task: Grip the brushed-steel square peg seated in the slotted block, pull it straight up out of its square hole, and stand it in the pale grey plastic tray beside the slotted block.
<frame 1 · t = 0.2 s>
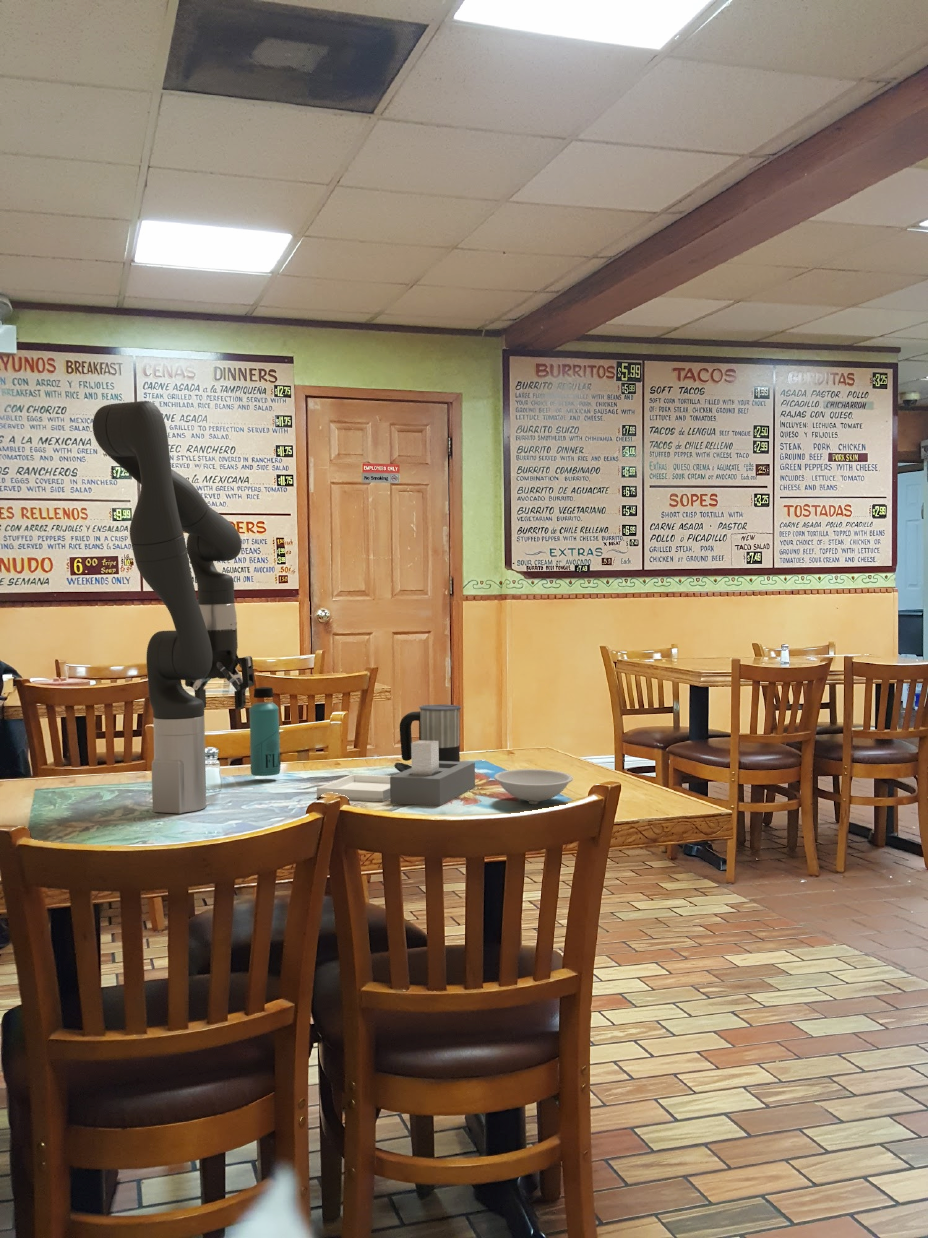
hand: (220, 708, 212), 17 cm above the table, tool pointing down, fingers open, 8 cm apart
milk frother: (428, 777, 232), on the table
beverage bottle: (265, 781, 229), on the table
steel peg: (425, 799, 206), resting in slotted block
dish: (533, 804, 200), on the table
slotted block: (434, 794, 210), on the table
tray: (367, 792, 214), on the table
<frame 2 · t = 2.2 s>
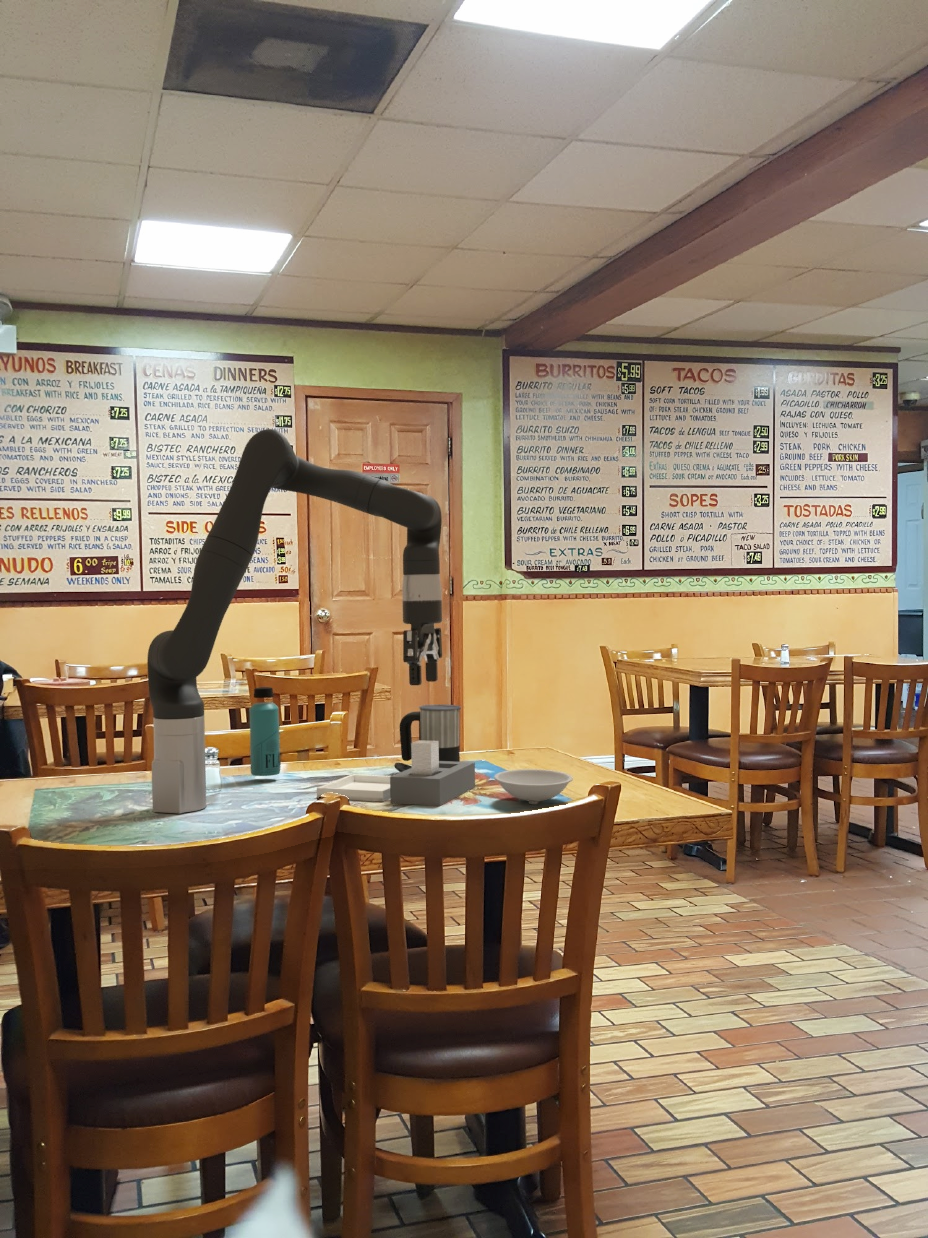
hand: (423, 683, 205), 22 cm above the table, tool pointing down, fingers open, 8 cm apart
nothing on the table moved.
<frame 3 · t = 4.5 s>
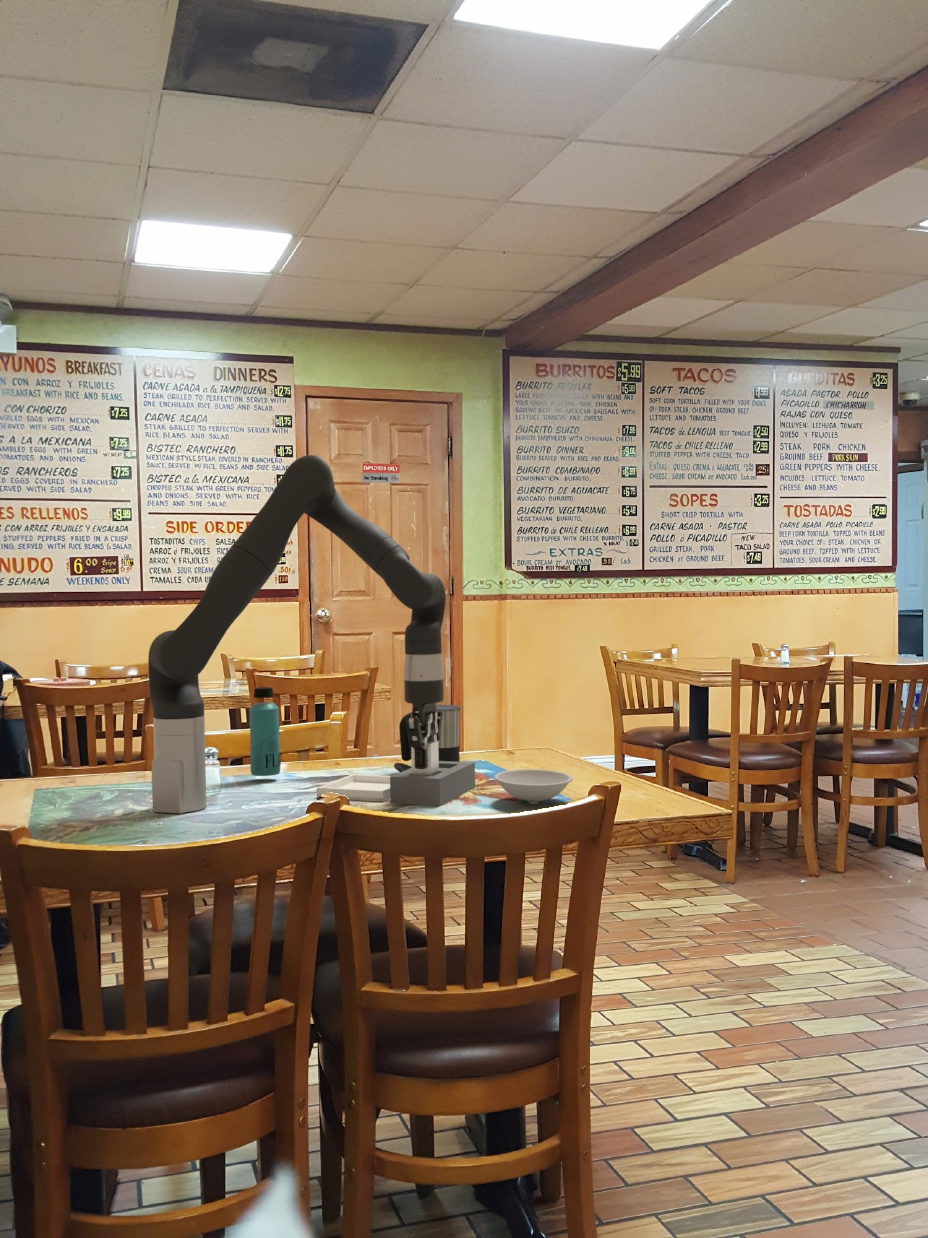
hand: (425, 766, 205), 6 cm above the table, tool pointing down, fingers closed on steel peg, 4 cm apart
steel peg: (425, 799, 206), resting in slotted block, touching gripper
everything else where it was.
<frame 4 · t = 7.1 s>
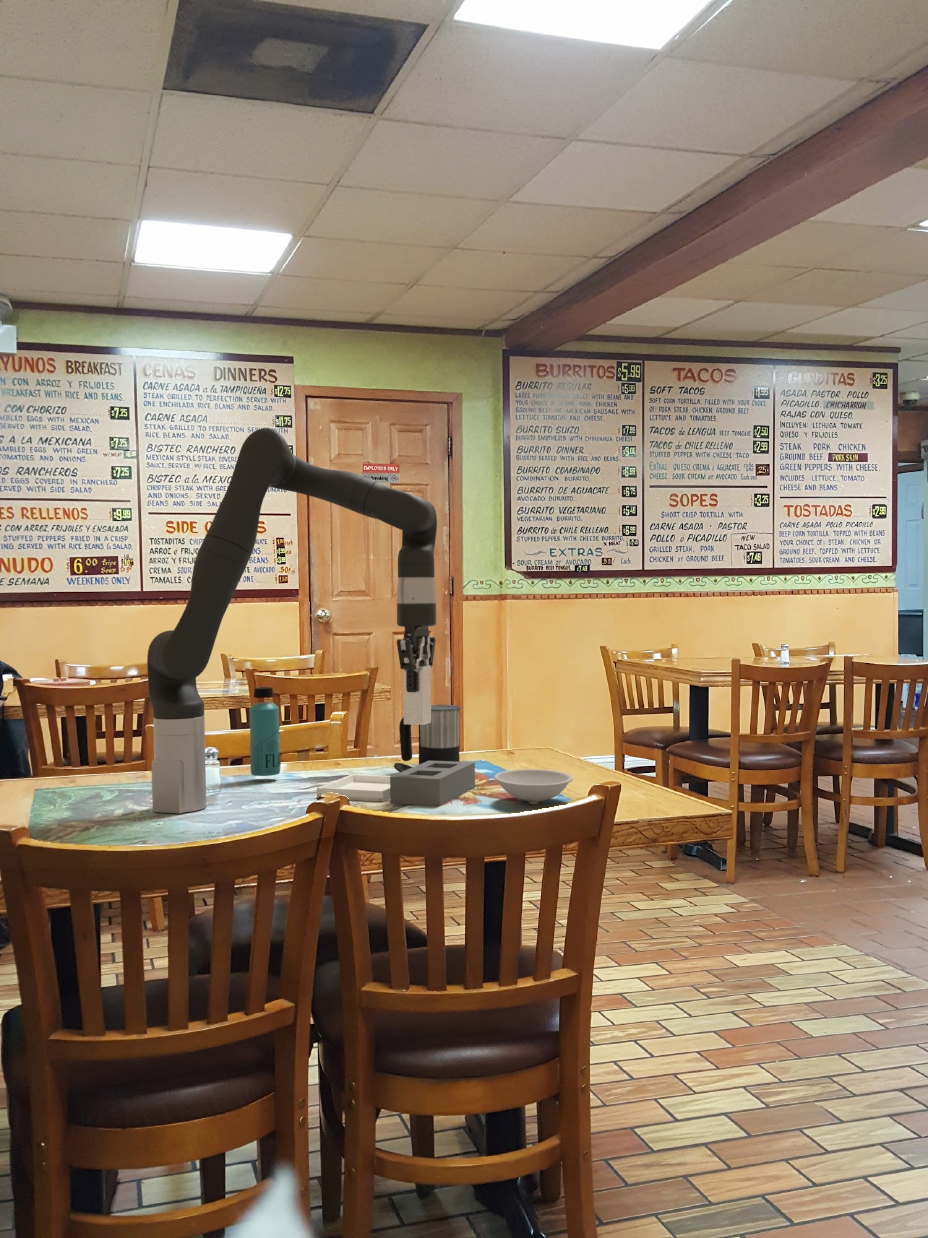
hand: (417, 690, 205), 21 cm above the table, tool pointing down, fingers closed on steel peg, 4 cm apart
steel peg: (417, 723, 205), point 15 cm above the table, touching gripper
everything else where it was.
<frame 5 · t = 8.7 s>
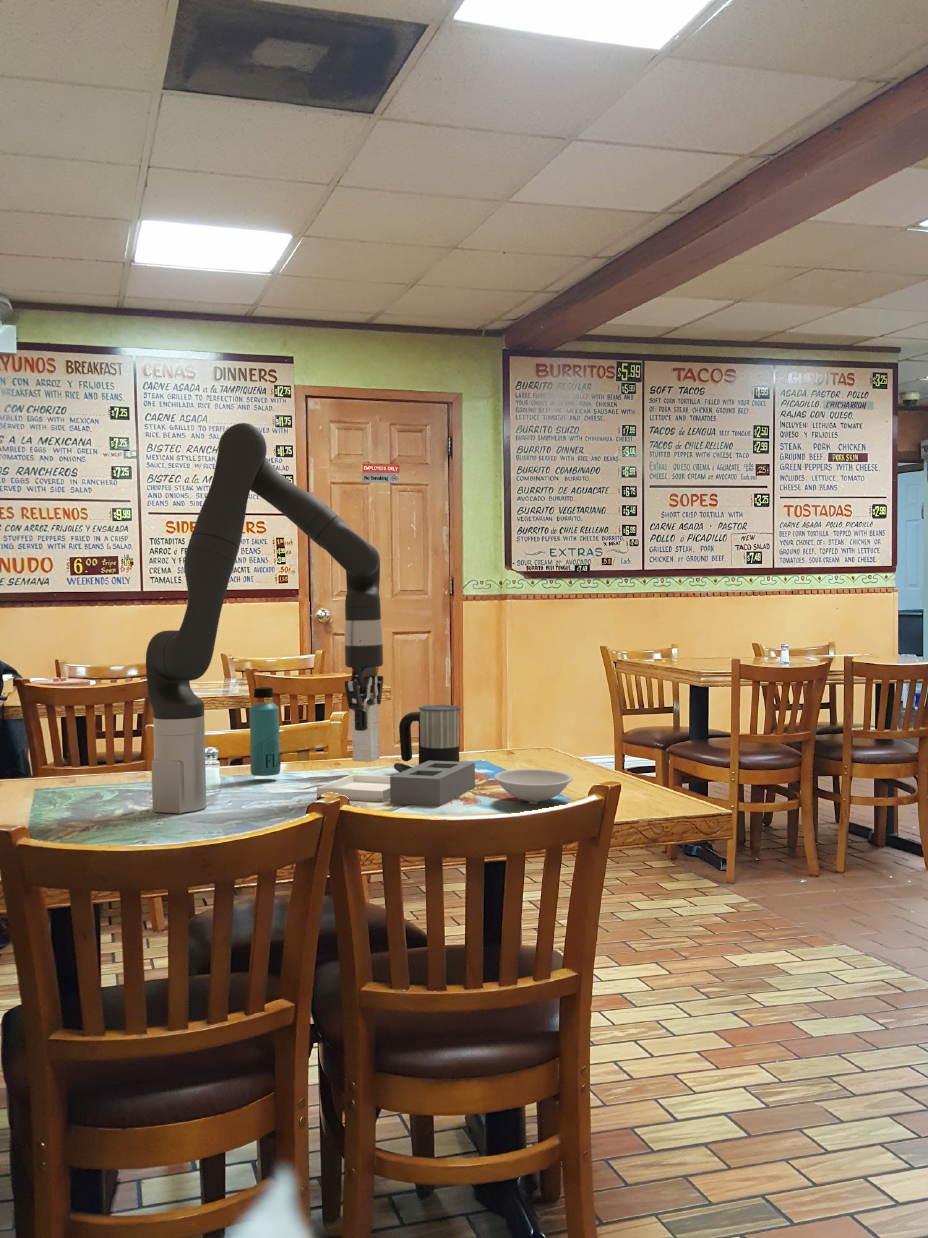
hand: (365, 728, 214), 13 cm above the table, tool pointing down, fingers closed on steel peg, 4 cm apart
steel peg: (366, 759, 214), point 6 cm above the table, touching gripper
everything else where it was.
when the fingers open (9 cm above the table, at t = 9.9 s): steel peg drops 2 cm, resting on tray.
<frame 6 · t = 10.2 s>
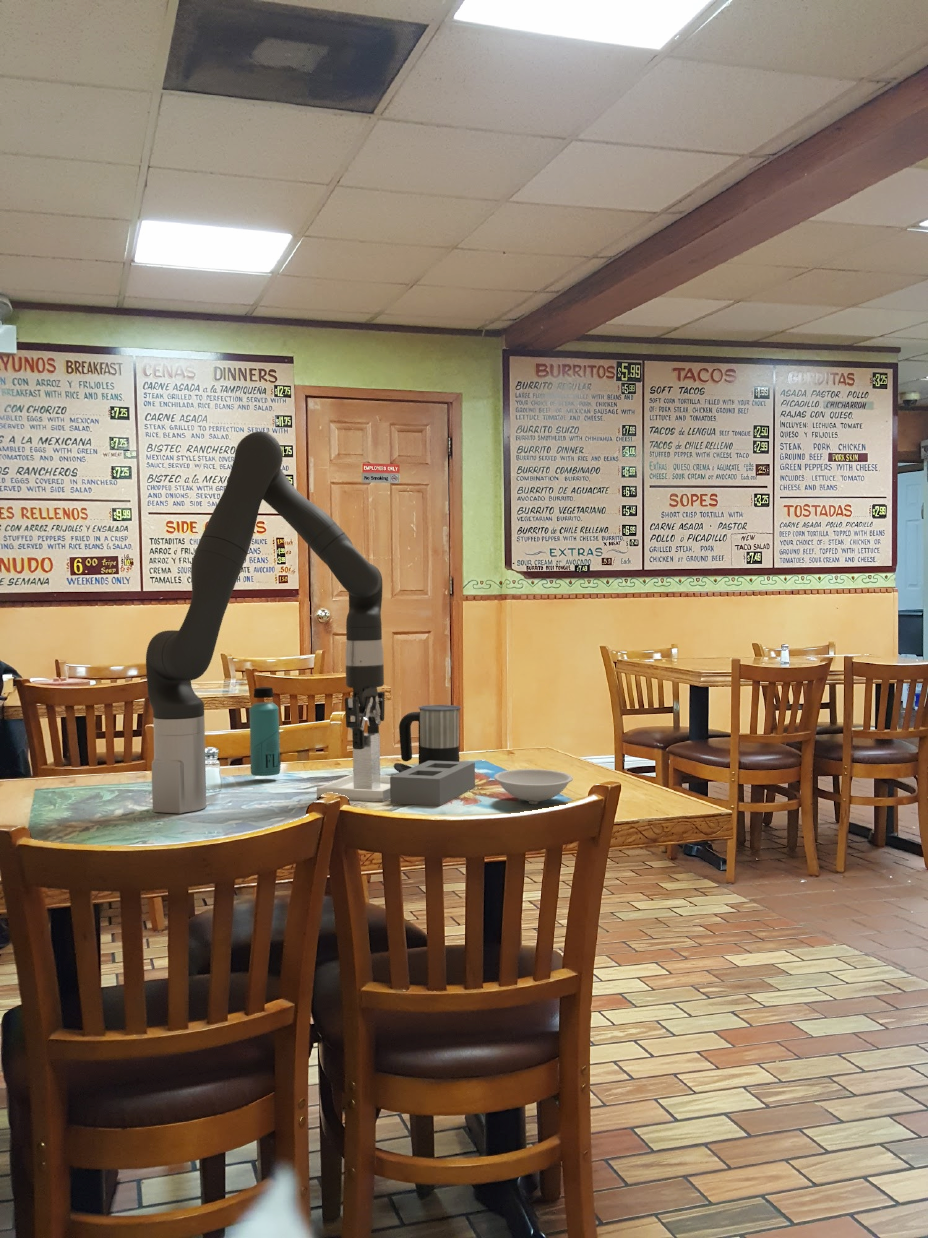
hand: (366, 746, 213), 9 cm above the table, tool pointing down, fingers open, 6 cm apart
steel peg: (367, 789, 214), point 1 cm above the table, touching tray
everything else where it was.
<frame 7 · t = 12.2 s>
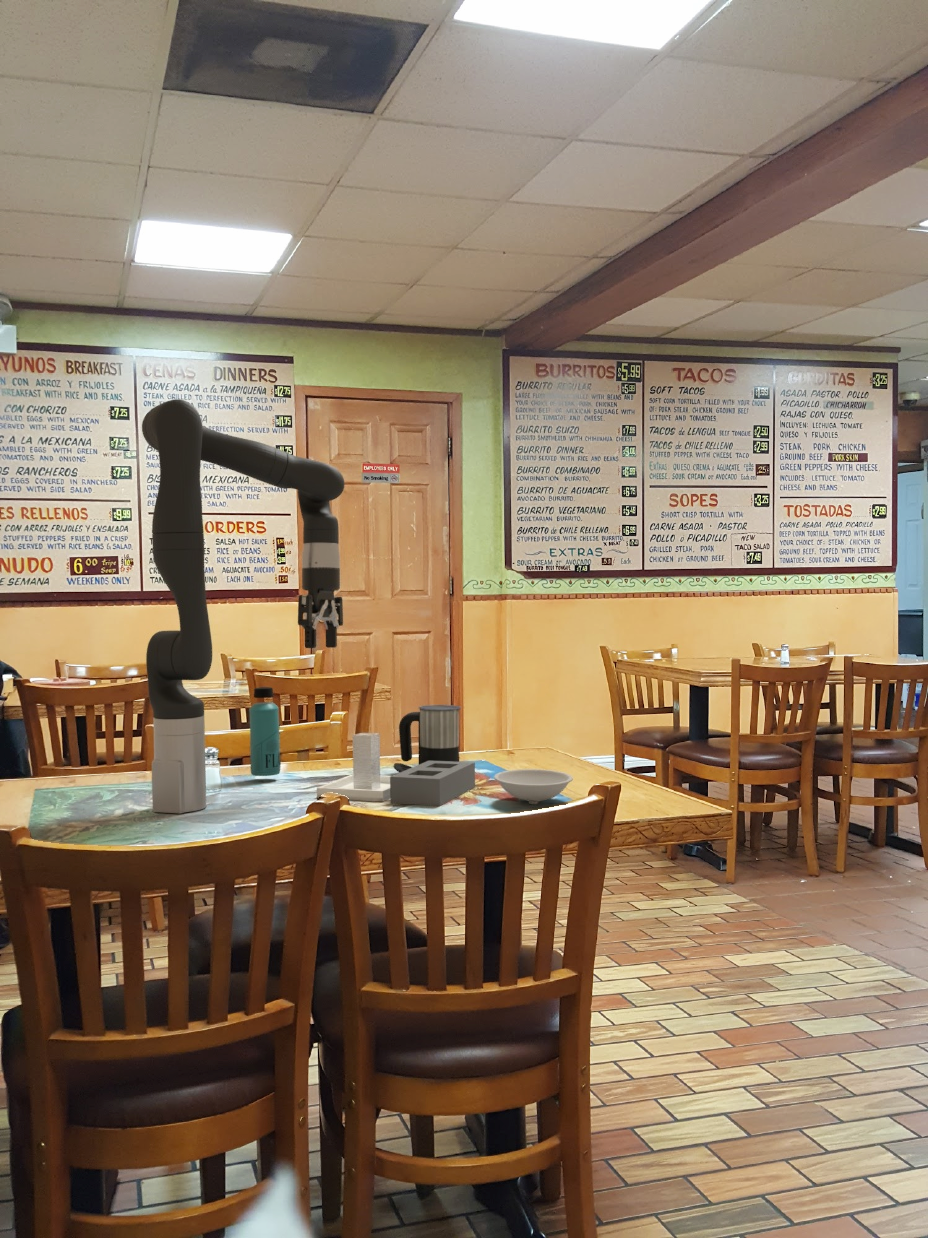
hand: (321, 647, 214), 29 cm above the table, tool pointing down, fingers open, 8 cm apart
nothing on the table moved.
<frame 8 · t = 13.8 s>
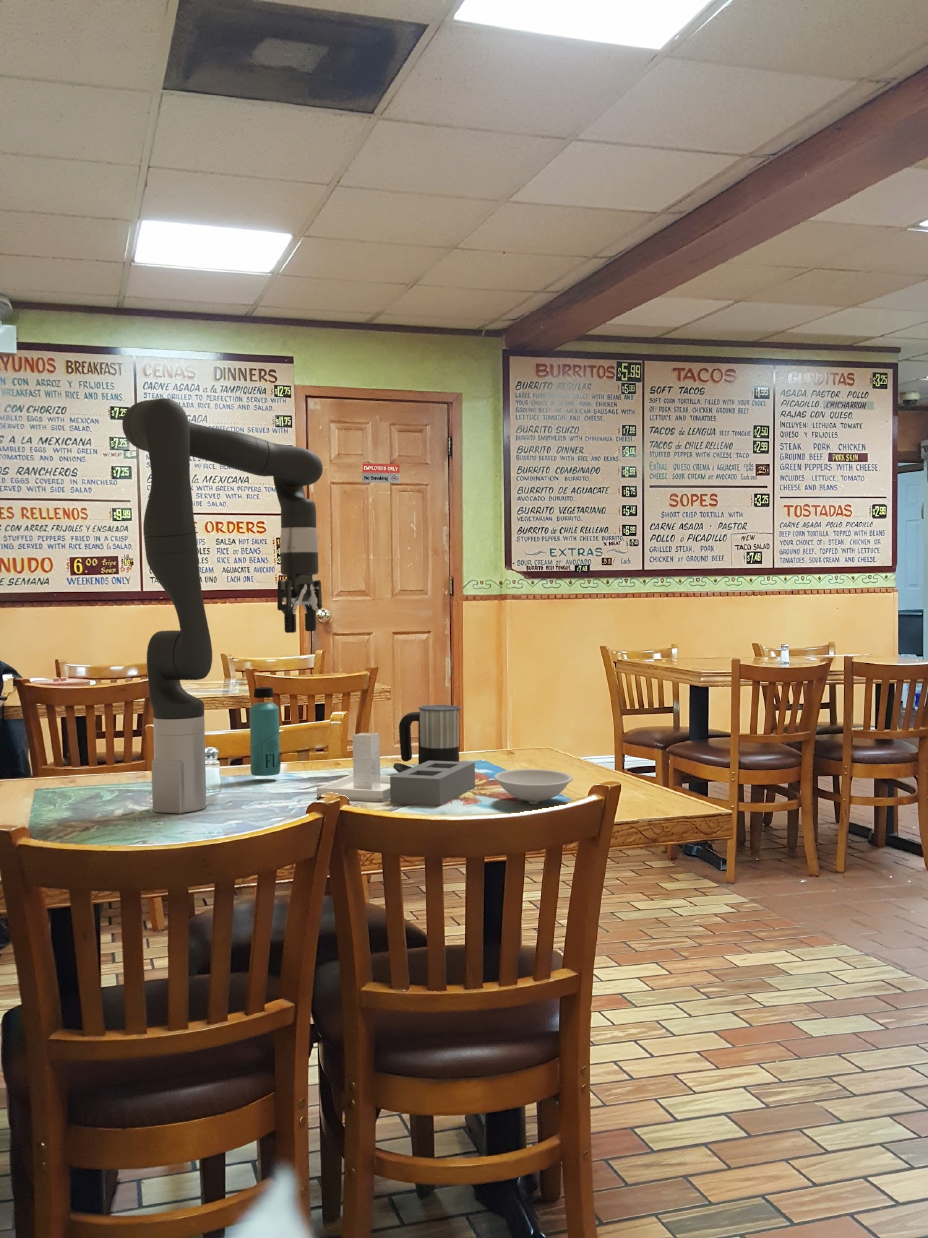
hand: (300, 631, 215), 32 cm above the table, tool pointing down, fingers open, 8 cm apart
nothing on the table moved.
at the end: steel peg inside the target area on the tray (0.0 cm from its centre), point 0.6 cm above the tray's base; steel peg tilted 0°; the gripper is holding nothing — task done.
